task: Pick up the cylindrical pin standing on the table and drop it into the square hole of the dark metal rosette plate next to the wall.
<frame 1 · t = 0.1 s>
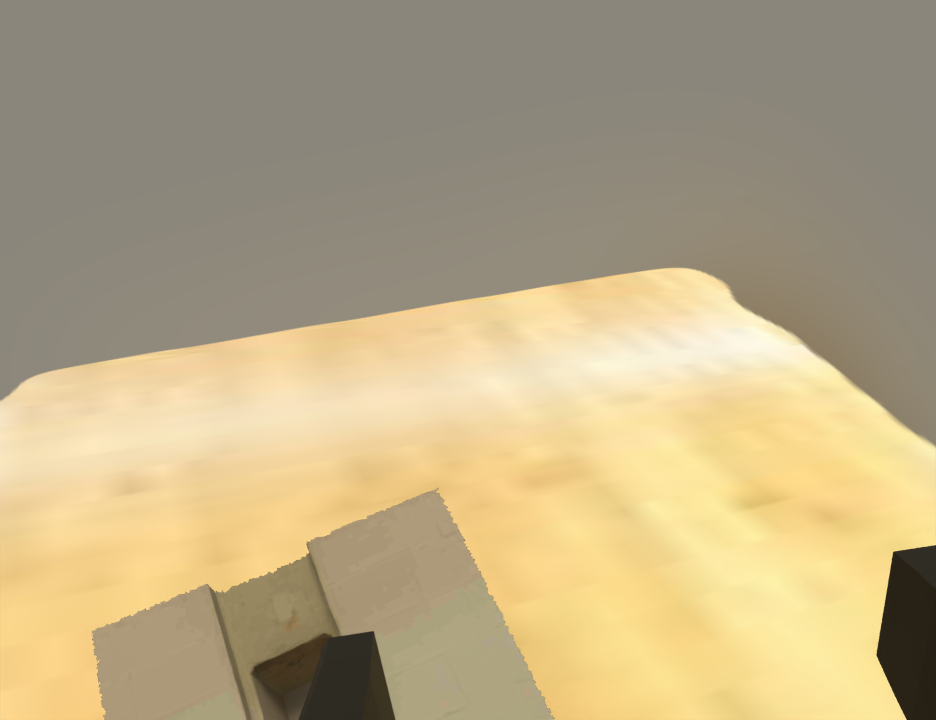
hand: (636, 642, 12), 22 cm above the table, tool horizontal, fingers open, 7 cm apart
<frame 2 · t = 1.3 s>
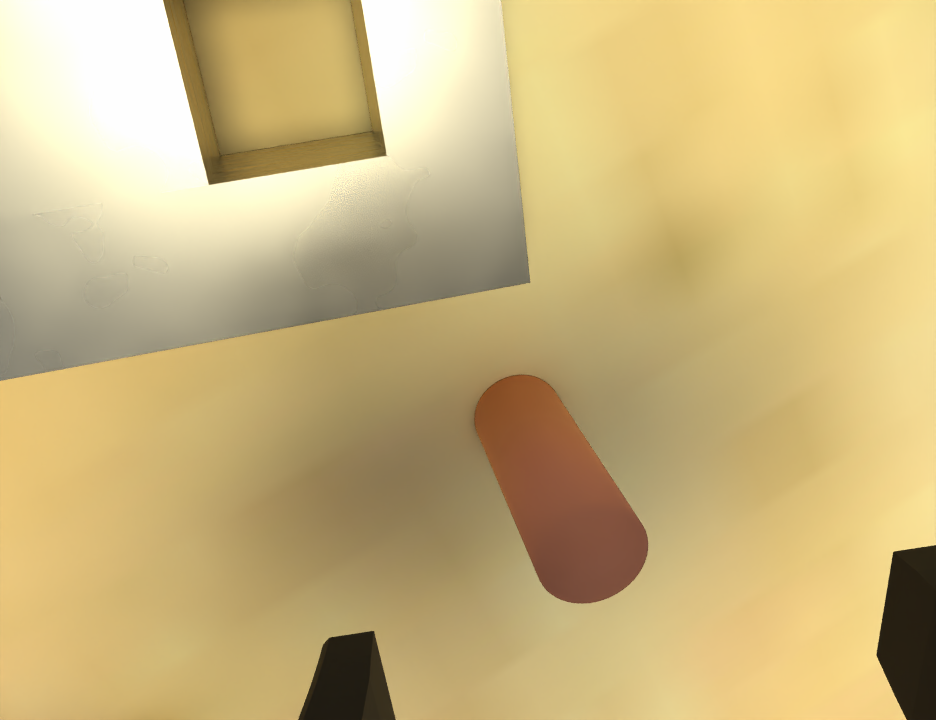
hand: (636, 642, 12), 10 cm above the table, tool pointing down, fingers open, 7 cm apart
cylindrical pin: (517, 415, 22), on the table
rosette plate: (130, 86, 18), on the table
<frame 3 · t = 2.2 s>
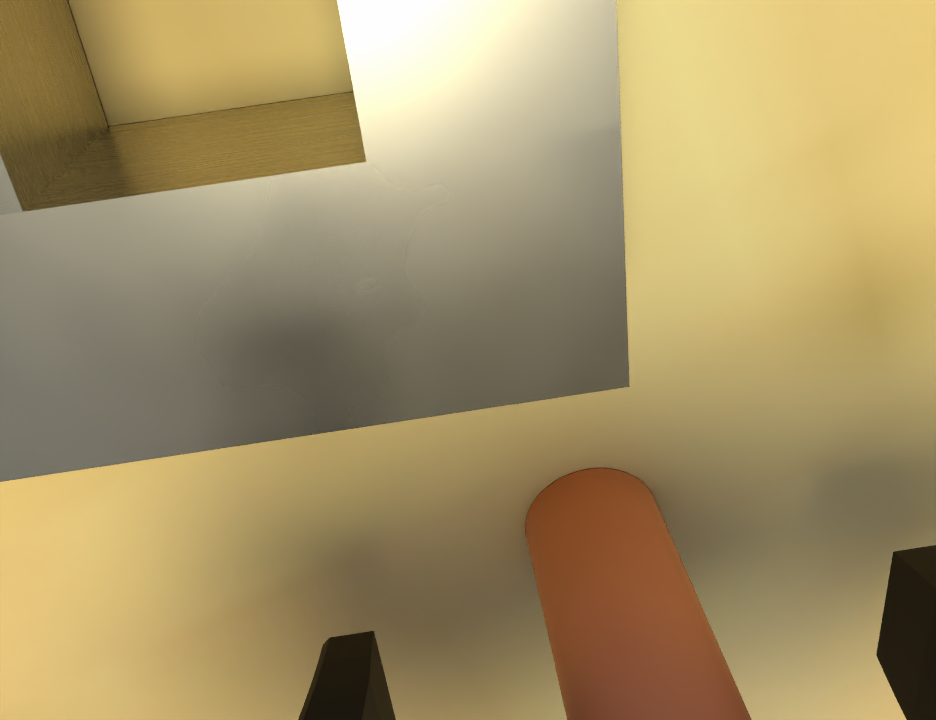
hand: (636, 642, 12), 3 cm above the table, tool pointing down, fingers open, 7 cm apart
cylindrical pin: (591, 522, 15), on the table
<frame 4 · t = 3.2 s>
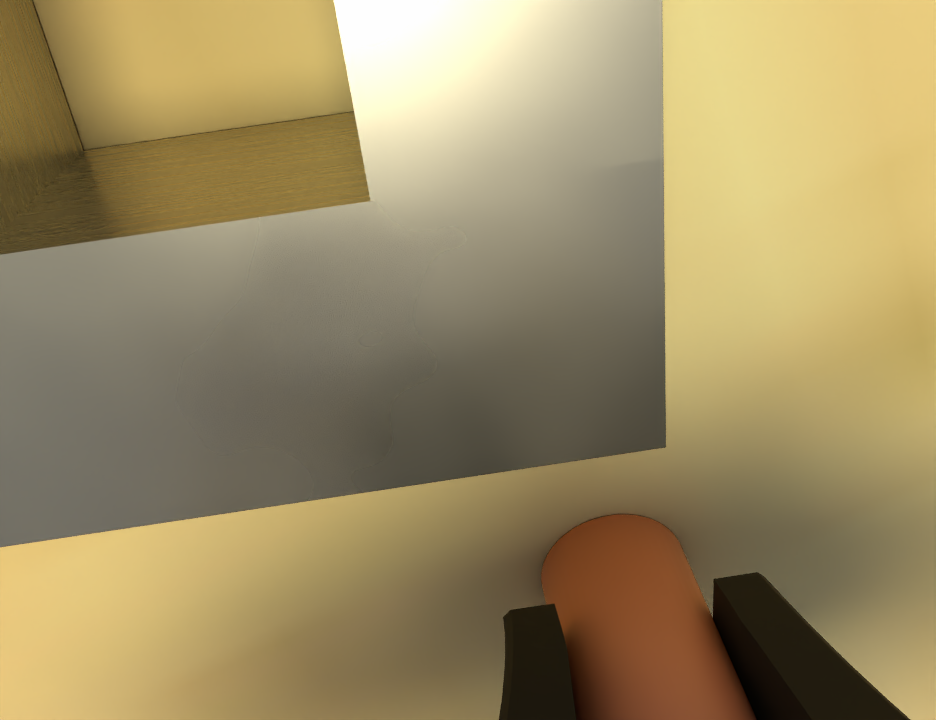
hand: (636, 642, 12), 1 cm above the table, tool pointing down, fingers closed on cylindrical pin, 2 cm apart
cylindrical pin: (612, 570, 13), on the table, touching gripper
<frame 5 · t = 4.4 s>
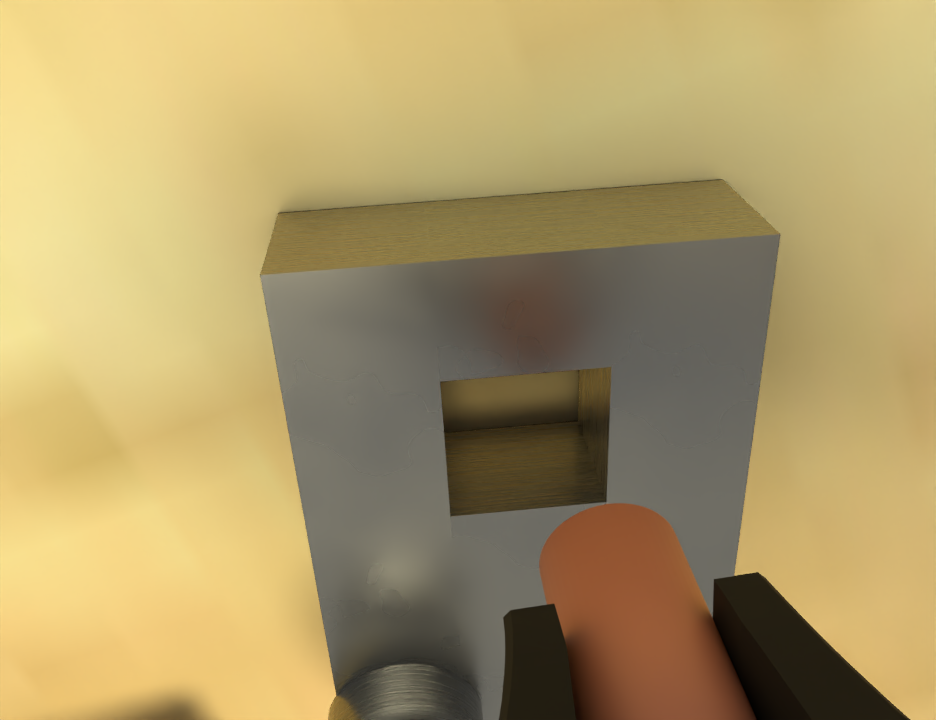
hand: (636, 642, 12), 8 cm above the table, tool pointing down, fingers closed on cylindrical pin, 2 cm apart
cylindrical pin: (608, 558, 14), point 7 cm above the table, touching gripper
rosette plate: (511, 475, 21), on the table
when the fingers open (4 cm above the table, at t = 5.6 s): cylindrical pin drops 2 cm, resting in rosette plate.
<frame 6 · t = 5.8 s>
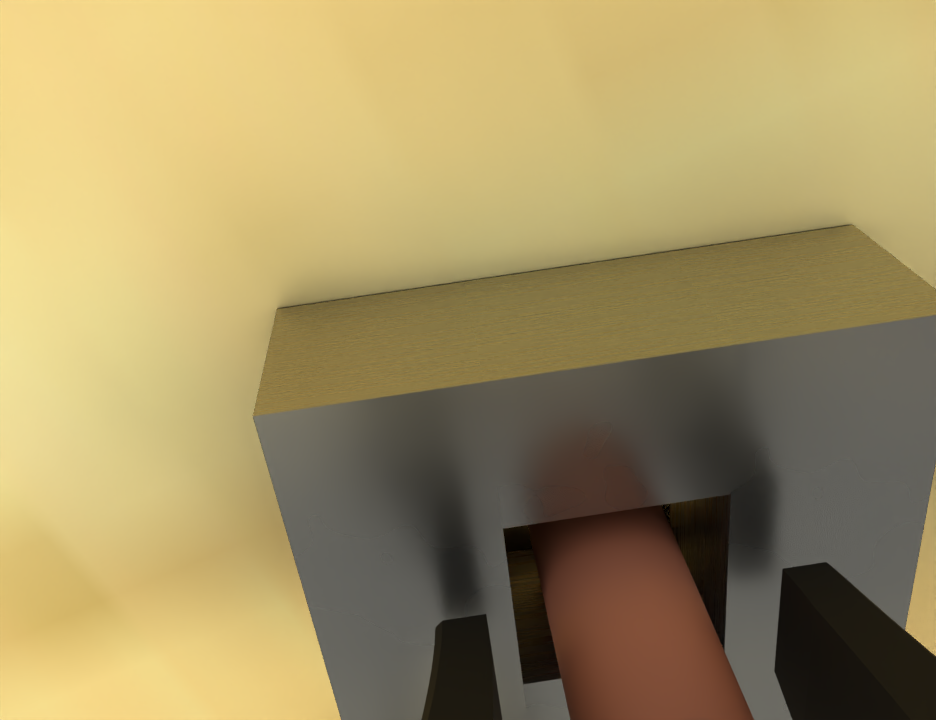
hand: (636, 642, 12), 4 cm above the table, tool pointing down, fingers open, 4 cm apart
cylindrical pin: (579, 474, 16), resting in rosette plate
rosette plate: (589, 595, 17), on the table
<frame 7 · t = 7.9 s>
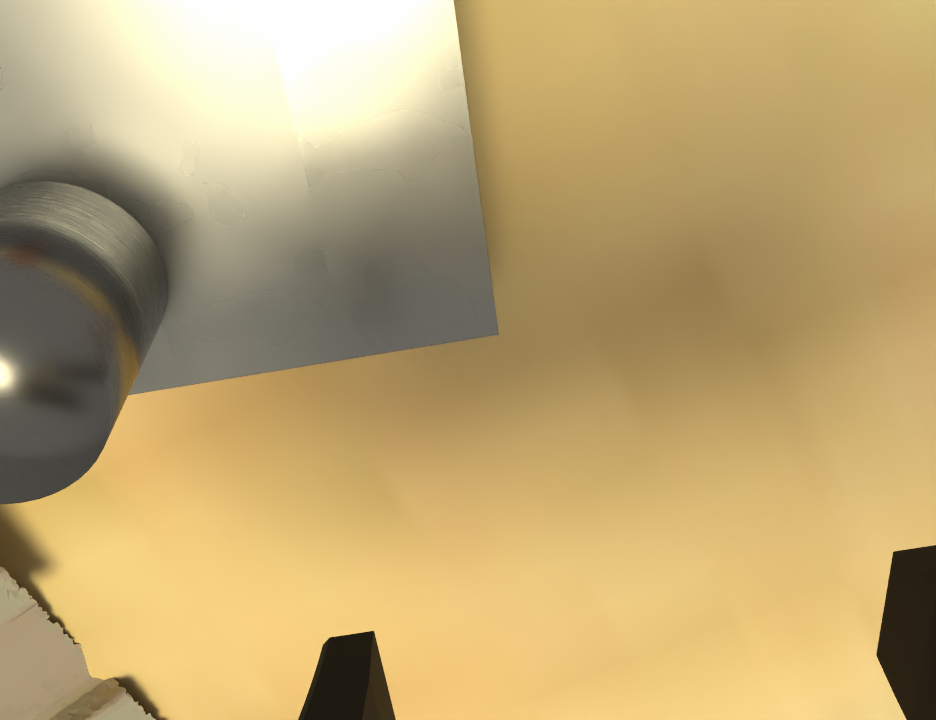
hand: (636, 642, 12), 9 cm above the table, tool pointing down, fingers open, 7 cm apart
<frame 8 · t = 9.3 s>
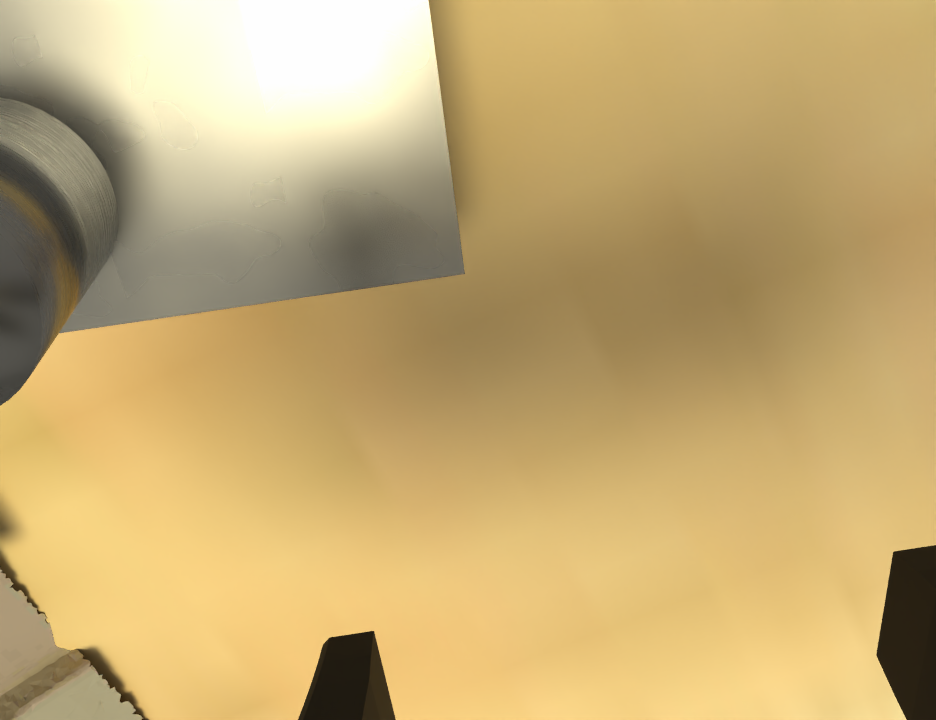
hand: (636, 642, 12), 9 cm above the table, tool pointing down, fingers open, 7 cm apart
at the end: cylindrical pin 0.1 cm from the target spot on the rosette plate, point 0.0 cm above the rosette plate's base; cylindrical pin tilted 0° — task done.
